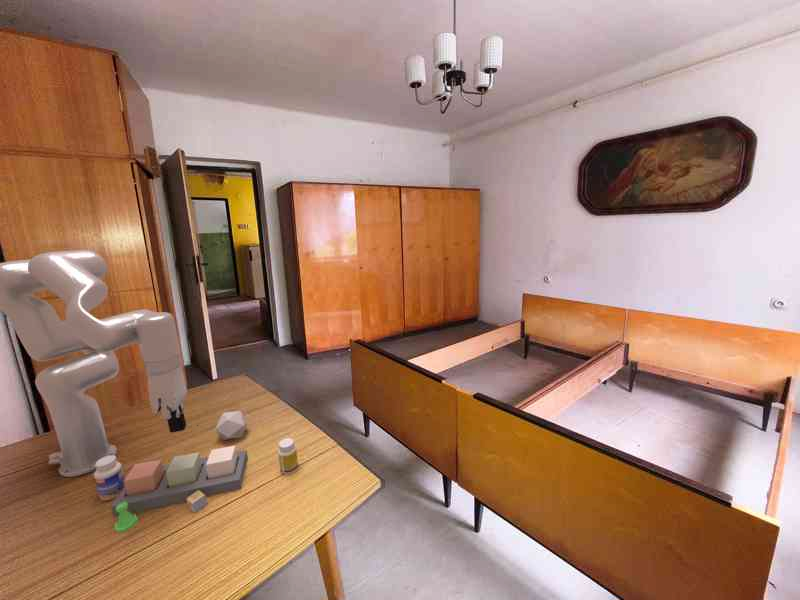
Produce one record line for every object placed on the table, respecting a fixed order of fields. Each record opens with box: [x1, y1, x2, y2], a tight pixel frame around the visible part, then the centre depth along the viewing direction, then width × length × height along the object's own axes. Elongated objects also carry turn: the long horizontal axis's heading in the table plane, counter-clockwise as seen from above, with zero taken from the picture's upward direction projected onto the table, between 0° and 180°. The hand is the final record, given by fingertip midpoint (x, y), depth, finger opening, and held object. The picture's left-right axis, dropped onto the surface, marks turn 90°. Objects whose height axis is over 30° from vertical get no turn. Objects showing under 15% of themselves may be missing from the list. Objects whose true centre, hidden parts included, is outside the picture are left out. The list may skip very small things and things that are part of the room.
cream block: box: [206, 445, 238, 479], centre depth 89 cm, size 6×6×5 cm
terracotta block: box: [124, 459, 165, 496], centre depth 84 cm, size 6×6×5 cm
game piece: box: [114, 502, 139, 533], centre depth 76 cm, size 4×4×6 cm
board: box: [110, 449, 249, 518], centre depth 88 cm, size 28×12×3 cm, turn 106°
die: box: [214, 410, 249, 441], centre depth 107 cm, size 8×9×10 cm
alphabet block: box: [186, 490, 208, 514], centre depth 81 cm, size 3×3×3 cm
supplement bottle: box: [278, 437, 299, 475], centre depth 92 cm, size 5×5×8 cm
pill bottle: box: [93, 455, 126, 501], centre depth 85 cm, size 5×5×10 cm
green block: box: [166, 452, 202, 487], centre depth 87 cm, size 6×6×5 cm
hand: (178, 429), depth 84 cm, fingers closed
